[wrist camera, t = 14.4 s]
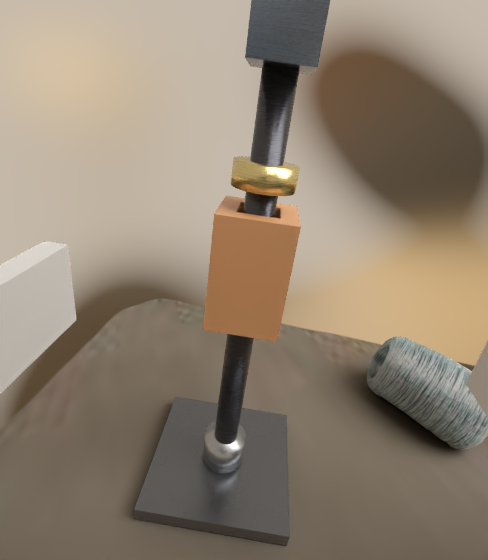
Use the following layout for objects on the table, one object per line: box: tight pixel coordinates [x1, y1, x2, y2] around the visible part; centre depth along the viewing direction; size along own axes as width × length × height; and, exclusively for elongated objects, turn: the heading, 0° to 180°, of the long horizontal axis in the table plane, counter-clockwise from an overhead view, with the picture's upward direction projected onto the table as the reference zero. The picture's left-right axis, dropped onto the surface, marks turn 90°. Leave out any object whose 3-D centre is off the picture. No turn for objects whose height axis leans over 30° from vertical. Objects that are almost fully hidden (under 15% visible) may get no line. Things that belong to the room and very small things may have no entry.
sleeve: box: [203, 196, 301, 342], centre depth 24 cm, size 5×5×8 cm
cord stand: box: [134, 0, 330, 546], centre depth 25 cm, size 12×12×39 cm
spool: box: [367, 337, 488, 450], centre depth 41 cm, size 14×10×10 cm
